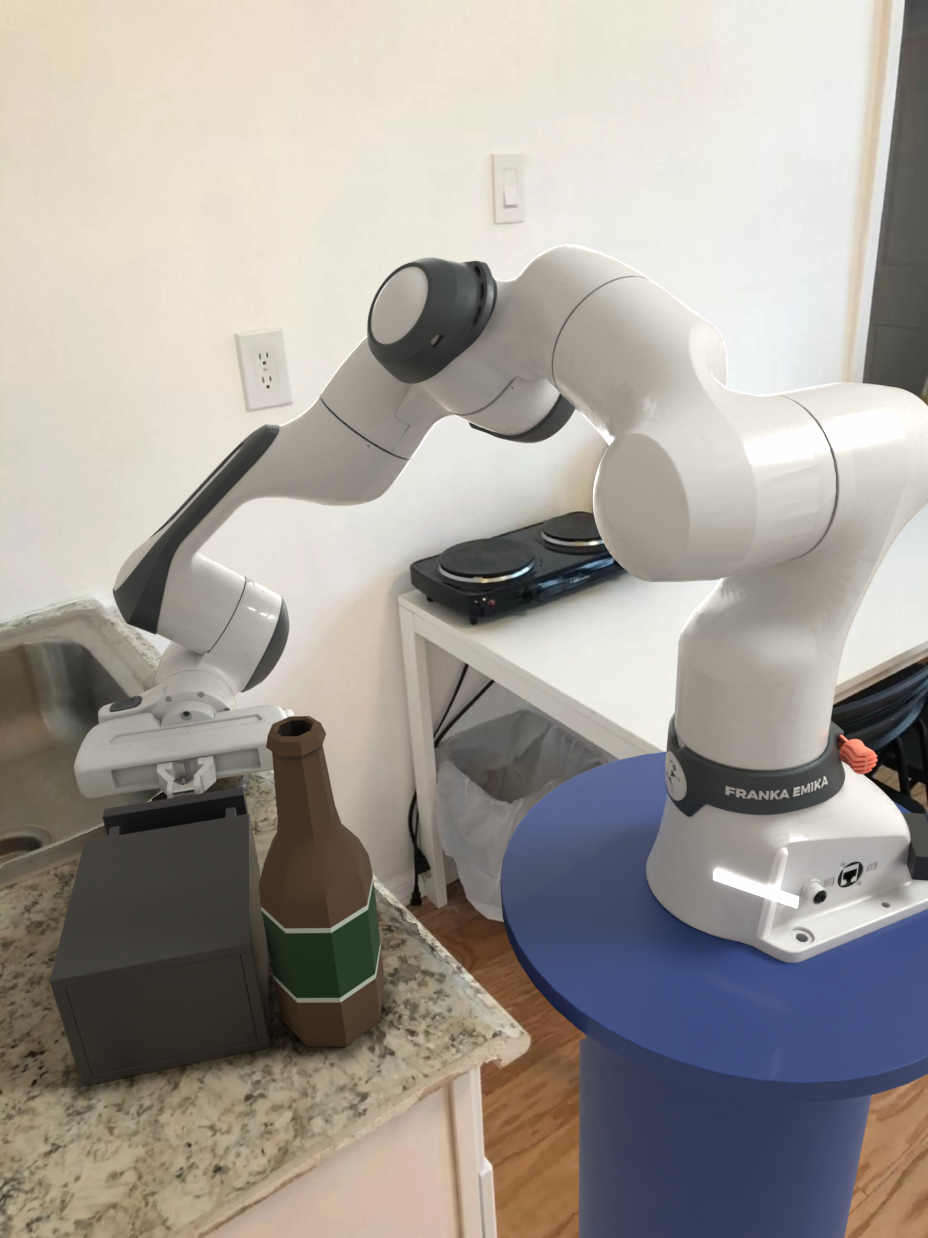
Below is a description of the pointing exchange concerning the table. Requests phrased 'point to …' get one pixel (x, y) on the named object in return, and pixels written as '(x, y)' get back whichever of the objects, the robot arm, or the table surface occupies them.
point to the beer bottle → (318, 900)
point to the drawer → (175, 811)
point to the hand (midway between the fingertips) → (184, 797)
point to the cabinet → (164, 951)
